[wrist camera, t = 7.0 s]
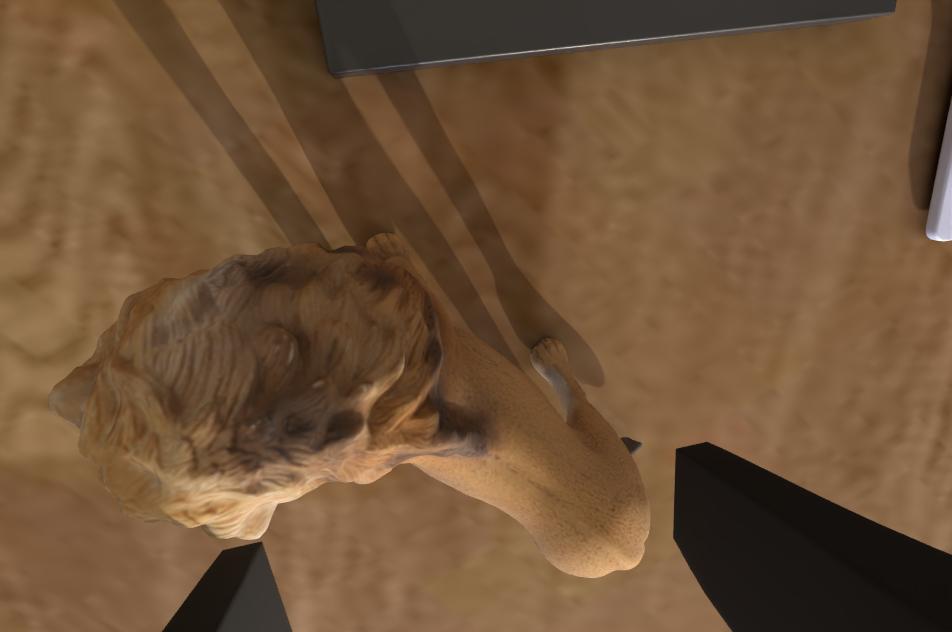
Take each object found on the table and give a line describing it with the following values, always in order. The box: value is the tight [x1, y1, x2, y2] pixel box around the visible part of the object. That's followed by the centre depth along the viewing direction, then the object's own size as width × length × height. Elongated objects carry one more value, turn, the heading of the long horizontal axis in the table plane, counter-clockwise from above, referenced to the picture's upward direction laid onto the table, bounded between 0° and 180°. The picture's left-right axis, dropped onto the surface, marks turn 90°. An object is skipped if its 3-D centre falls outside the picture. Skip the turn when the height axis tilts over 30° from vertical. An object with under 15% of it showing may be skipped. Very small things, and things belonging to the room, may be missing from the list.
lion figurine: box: [49, 233, 650, 578], centre depth 12 cm, size 15×5×9 cm, turn 60°
